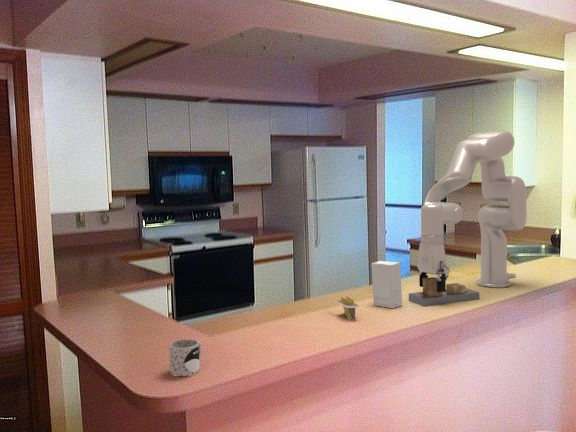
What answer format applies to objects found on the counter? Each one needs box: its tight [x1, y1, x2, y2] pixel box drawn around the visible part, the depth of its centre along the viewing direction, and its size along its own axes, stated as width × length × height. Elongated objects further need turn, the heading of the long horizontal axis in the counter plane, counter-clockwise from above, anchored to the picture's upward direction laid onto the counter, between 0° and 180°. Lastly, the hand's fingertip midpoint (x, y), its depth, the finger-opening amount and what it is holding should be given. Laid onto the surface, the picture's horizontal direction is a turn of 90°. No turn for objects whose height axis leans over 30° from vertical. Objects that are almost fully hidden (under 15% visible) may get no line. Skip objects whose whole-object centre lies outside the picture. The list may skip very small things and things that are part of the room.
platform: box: [337, 295, 360, 321], centre depth 165 cm, size 12×18×7 cm, turn 18°
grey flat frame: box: [408, 287, 480, 307], centre depth 185 cm, size 23×9×2 cm, turn 111°
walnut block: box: [422, 276, 442, 297], centre depth 183 cm, size 5×5×8 cm
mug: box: [168, 338, 202, 377], centre depth 123 cm, size 10×7×7 cm, turn 158°
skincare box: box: [371, 260, 403, 309], centre depth 178 cm, size 8×6×15 cm
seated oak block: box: [446, 282, 466, 294], centre depth 186 cm, size 5×5×5 cm
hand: (432, 289), depth 183 cm, fingers open, 9 cm apart
